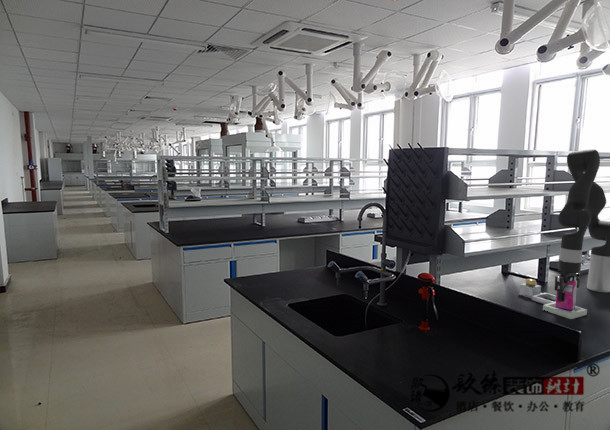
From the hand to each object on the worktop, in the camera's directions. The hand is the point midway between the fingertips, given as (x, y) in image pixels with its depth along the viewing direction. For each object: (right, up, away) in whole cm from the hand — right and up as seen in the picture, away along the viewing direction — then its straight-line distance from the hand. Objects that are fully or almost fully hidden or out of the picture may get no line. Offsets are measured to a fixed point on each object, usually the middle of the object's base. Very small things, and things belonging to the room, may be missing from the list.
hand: (565, 299), depth 161 cm
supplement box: (0, -4, 0) cm, 4 cm away
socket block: (0, -3, +15) cm, 16 cm away
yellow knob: (-3, -2, +20) cm, 21 cm away
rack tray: (0, -5, +1) cm, 5 cm away
